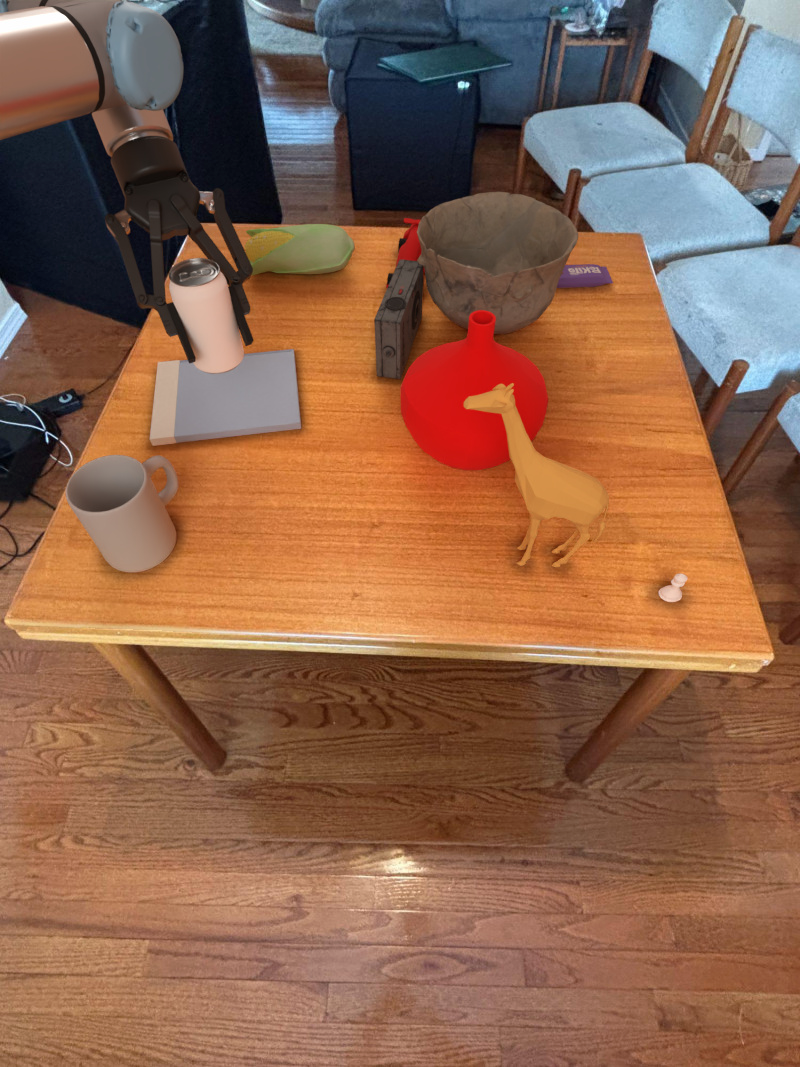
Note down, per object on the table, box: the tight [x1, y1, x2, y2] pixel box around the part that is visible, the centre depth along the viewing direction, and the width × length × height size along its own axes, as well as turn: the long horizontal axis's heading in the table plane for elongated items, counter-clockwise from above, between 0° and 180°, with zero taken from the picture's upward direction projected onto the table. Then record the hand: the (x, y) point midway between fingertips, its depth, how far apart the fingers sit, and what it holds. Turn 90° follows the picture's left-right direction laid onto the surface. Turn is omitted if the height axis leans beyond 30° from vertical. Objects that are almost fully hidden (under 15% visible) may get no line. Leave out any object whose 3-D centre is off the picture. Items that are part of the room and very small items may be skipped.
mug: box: [65, 454, 180, 573], centre depth 72 cm, size 12×8×11 cm
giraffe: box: [463, 383, 610, 568], centre depth 64 cm, size 16×4×25 cm, turn 83°
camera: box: [373, 259, 424, 380], centre depth 93 cm, size 16×4×10 cm, turn 167°
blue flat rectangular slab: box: [149, 348, 302, 447], centre depth 90 cm, size 20×16×1 cm
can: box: [168, 257, 245, 374], centre depth 76 cm, size 6×6×12 cm
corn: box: [244, 223, 356, 277], centre depth 107 cm, size 8×8×20 cm
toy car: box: [385, 217, 425, 289], centre depth 107 cm, size 6×18×5 cm, turn 170°
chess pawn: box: [658, 573, 689, 603], centre depth 69 cm, size 3×2×4 cm
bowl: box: [417, 191, 579, 335], centre depth 95 cm, size 22×22×15 cm
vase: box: [399, 310, 549, 471], centre depth 78 cm, size 18×18×19 cm
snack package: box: [556, 263, 614, 289], centre depth 107 cm, size 12×2×5 cm
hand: (221, 351), depth 76 cm, fingers closed on can, 6 cm apart
